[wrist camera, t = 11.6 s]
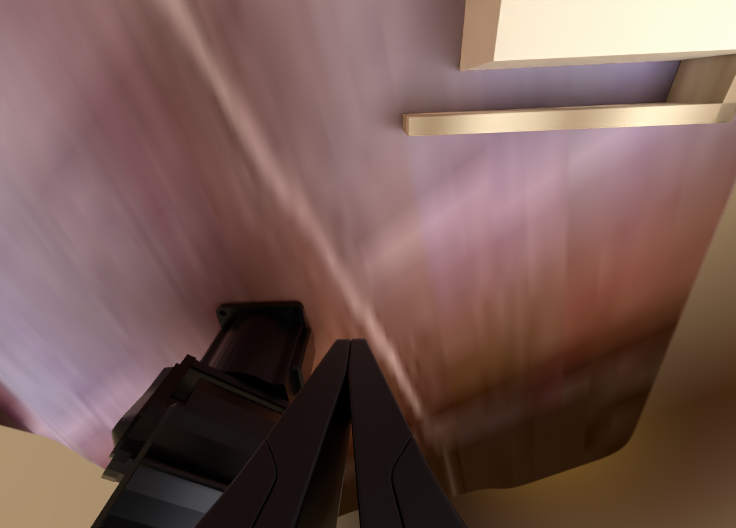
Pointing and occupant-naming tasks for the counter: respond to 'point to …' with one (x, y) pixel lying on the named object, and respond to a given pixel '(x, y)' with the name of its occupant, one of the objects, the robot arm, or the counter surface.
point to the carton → (593, 32)
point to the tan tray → (606, 107)
